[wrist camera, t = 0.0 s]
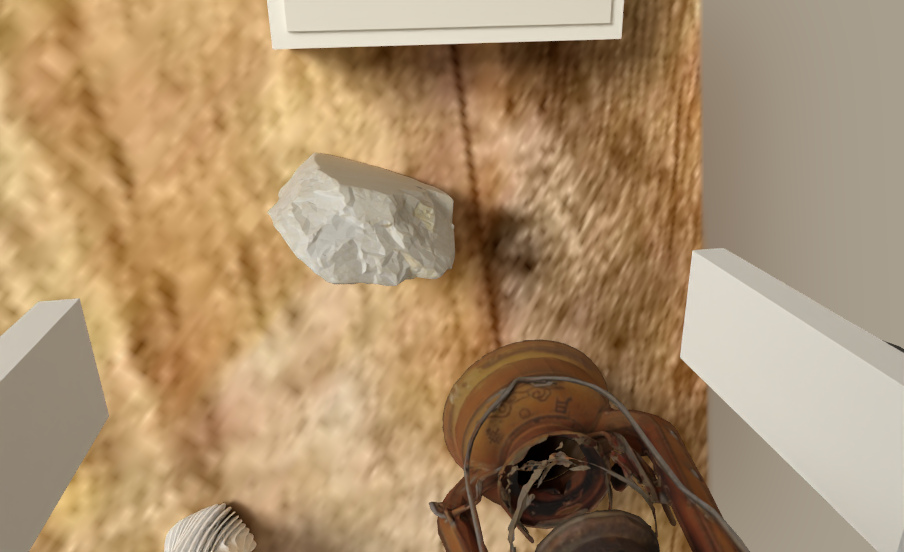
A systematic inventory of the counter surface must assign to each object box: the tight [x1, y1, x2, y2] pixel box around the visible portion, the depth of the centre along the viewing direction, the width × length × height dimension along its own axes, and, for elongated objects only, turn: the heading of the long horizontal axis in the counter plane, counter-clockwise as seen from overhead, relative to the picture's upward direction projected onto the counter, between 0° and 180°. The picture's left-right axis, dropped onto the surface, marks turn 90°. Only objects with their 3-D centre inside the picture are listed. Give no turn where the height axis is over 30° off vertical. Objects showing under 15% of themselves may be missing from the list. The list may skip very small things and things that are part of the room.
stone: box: [268, 153, 455, 286], centre depth 36 cm, size 10×5×12 cm, turn 75°
